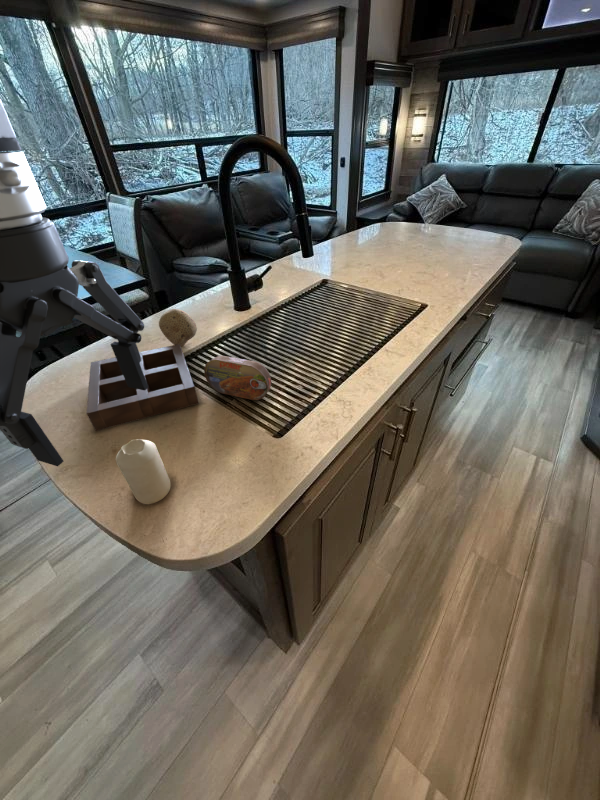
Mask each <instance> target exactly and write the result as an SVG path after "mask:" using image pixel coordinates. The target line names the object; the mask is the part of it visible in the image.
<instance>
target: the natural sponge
mask: <svg viewBox="0 0 600 800" xmlns="http://www.w3.org/2000/svg"><path fill="white" fill-rule="evenodd" d="M158 327H159V329H160V331H161V333H162V334H163V336H164V338H166V339H167V340H168V341H169V342H170V343H171V344H172V345H177V344H180V346H181V347H183V346H185V345H186V344H187V343H188V341H190V340H191V339H193V338H194V337H195V336H196V334H197V331H198V327H197V322H196V321H195V320H194V319H193V318H192V316H191V315H190V314H189V313H188V312H186V311H184V310H183V309H179V308H172V309H169V310H166V311H165V312H164V313H162V315H161V316H160V318H159V320H158Z"/></svg>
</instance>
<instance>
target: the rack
mask: <svg viewBox="0 0 600 800" xmlns="http://www.w3.org/2000/svg"><path fill="white" fill-rule="evenodd" d="M139 354H140V356H141V362H140V366H141V368H142V371H143V374H144V376H145V379H146V382H147V385H148V388H147V389H146V390H140V389H136V388H131V387H128V385H127V383H126V380H125V378H124V376H123V373H122V371H121V369H120V366H119V364H118V361H117V359H116V357H115V356H114V357H111V358H110V357H109V358H105V359H100V360H95V361H91V362H90V367H89V378H88V391H87V403H86V416H87V418H88V419H89V421H90V424H91V425H92V427H93V429H94V430H95V432H98V431H101V430H105V429H109V428H113V427H117V426H120V425H123V424H128V423H132V422H136V421H138V420H139V421H140V420H142V419H146V418H150V417H154V416H157V415H161V414H165V413H169V412H173V411H176V410H180V409H184V408H187V407H191V406H194V405H195V406H196V405H199V403H200V402H199V399H198V394H197V391H196V388H195V384H194V381H193V379H192V376H191V373H190V370H189V367H188V363H187V360H186V358H185V355H184V352H183V350H182V346H180V344H177V345H174V344H172V345H167V346H163V347H157V348H153V349H149V350H144V351H139Z"/></svg>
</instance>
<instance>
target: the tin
mask: <svg viewBox="0 0 600 800" xmlns="http://www.w3.org/2000/svg"><path fill="white" fill-rule="evenodd" d="M203 372H204V374H203V375H204V377H205V380H206V381H207V383H208V384H209V386H210V387H211V388H212V389H213V390H215V391H216V392H218V393H220V394H223V395H229V396H232V397H237V398H242V399H246V400H250V401H259V400H261V399H264V398H265V397H266V395H267V394H268V392H269V391H270V389H271V387H272V378H271V375H270V372H269V370H268V369H267V368H266V367H265V366H264V365H263V364H262V363H261V362H258V361H255V360H249V359H244V358H239V357H232V356H228V355H226V356H225V355H218V356H215V357H213V358H212V359H210V360H209V361H207V362H206V364H205V366H204V368H203Z"/></svg>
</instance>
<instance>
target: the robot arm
mask: <svg viewBox="0 0 600 800" xmlns="http://www.w3.org/2000/svg"><path fill="white" fill-rule="evenodd" d="M8 116H9V115H8V113H7V111H6V109H5V107H4V104H3V102H2V99H1V98H0V431H1V433H2V434H3V435H4V436H5V438H6V439H7V440H8V442H9V443H10V444H11V445H13V446H16V447H19V448H22V449H24V450H29V451H30V452H31V454H32V455H33V456H34V458H35V459H36V461H38V462H42V463H45V464H48V465H52V466H55V467H59V466H60V465H62V464H63V463H64V459H63V458H62V456H61V455H60V454H59V452H58V450H57V449H56V447H55V446H54V444H53V443H52V442H51V440H50V438H48V436H47V434H46V433H45V432H44V430H43V429H42V427H41V426H40V424H39V423H38V421H37V420H36V419H35V417H34V416H33V414H32V413H29V412H26V411H22V409H23V404H24V400H25V393H26V388H27V383H28V378H29V374H30V369H31V364H32V359H33V354H34V351H35V350H36V349H37V348H38V347H39V345H40V339H41V336H42V337H48V336H49V335H51V334H53V333H55V331H57V330H58V329H59V328H62V327H67V326H69V325H71V324H73V323H74V321H73V319H76V320H78V321H80V322H81V323H83V324H85V325H87V326H89V327H91V328H93V329H95V330H97V331H98V332H100V333H103V334H105V335H107V336H109V337H110V338H112V339H114V340H117V341H113V342H112V343H110V347H111V350H112V352H113V354H114V357H116V359H117V361H118V364H119V366H120V369H121V371H122V373H123V376H124V378H125V380H126V383H127V385H128V387H131V388H136V389H140V390H146V389H147V388H148V385H147V382H146V379H145V376H144V374H143V371H142V368H141V366H140V362H141V356H140V354H139V352H140V351H139V348H138V345H137V344H139V343H141V341H142V335H141V334H140V333H139V332H142V331H144V330H145V323H144V322H143V320H142V319H141V318H140V317H139V316H138V315H137V313H136V312H134V310H132V308H131V307H130V306H129V304H128V303H126V301H125V300H124V299H123V298H122V297H121V296H120V294H118V293H117V291H116V290H115V289H114V288H113V287H112V286H111V284H110V283H109V282H108V281H107V280H106V277H105V275H104V273H103V271H102V269H101V267H100V265H99V264H98V263H97V262H95V261H88V260H87V261H85V260H72V262H71V267H69V266H68V264H69V260H70V259H69V255H68V253H67V251H66V249H65V246H64V243H63V241H62V239H61V236H60V234H59V231H58V230H57V227H56V225H55V223H54V222H53V221H51V220H50V219H49V218H48V217H45V216H44V217H43V216H42V213H45V211H46V209H47V205H46V202H45V200H44V197H43V195H42V193H41V191H40V188H39V186H38V183H37V182H36V179H35V176H34V174H33V172H32V170H31V167H30V165H29V162H28V161H27V158H26V156H25V153H24V151H23V148H22V146H21V144H20V142H19V140H18V139H17V136H16V133H15V131H14V128H13V125H12V123H11V121H10V119H9V117H8ZM79 286H81V287H82V288H83V289H84V290H85V291H86V292H87V293H88V294H89V295H90V297H92V298H93V299H94V300H95V301H96V303H98V304H99V305H100V306H101V308H102V309H104V310H105V312H107V314H108V315H110V316H111V317H112V318H113V319H112V318H110V317H109V316H107V315H105V314H103V313H101V312H100V311H98V310H96V308H95V307H94V306H93V305H91V304H90V303H88V302H86V301H84V300H83V299H81V298H79V297H78V295H79ZM17 332H19V333H21V334H20V336H17Z"/></svg>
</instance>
